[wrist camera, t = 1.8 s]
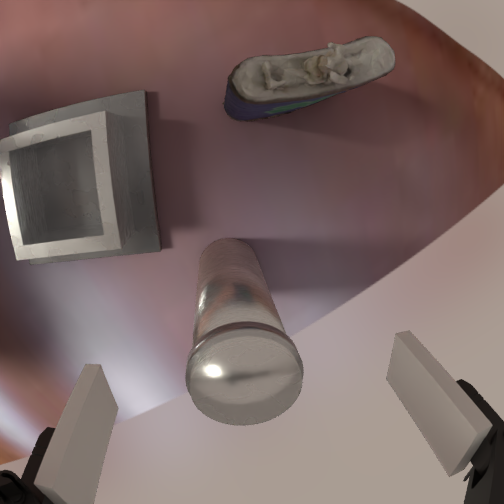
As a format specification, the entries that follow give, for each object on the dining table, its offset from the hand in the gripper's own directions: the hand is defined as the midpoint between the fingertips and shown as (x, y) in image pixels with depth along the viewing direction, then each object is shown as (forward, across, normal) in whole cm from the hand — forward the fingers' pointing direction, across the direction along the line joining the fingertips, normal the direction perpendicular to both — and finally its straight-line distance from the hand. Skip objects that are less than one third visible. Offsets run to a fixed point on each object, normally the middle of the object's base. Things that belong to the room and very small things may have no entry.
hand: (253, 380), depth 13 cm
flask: (+14, +4, +13) cm, 19 cm away
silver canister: (+13, 0, 0) cm, 13 cm away
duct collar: (+13, -12, +8) cm, 19 cm away
